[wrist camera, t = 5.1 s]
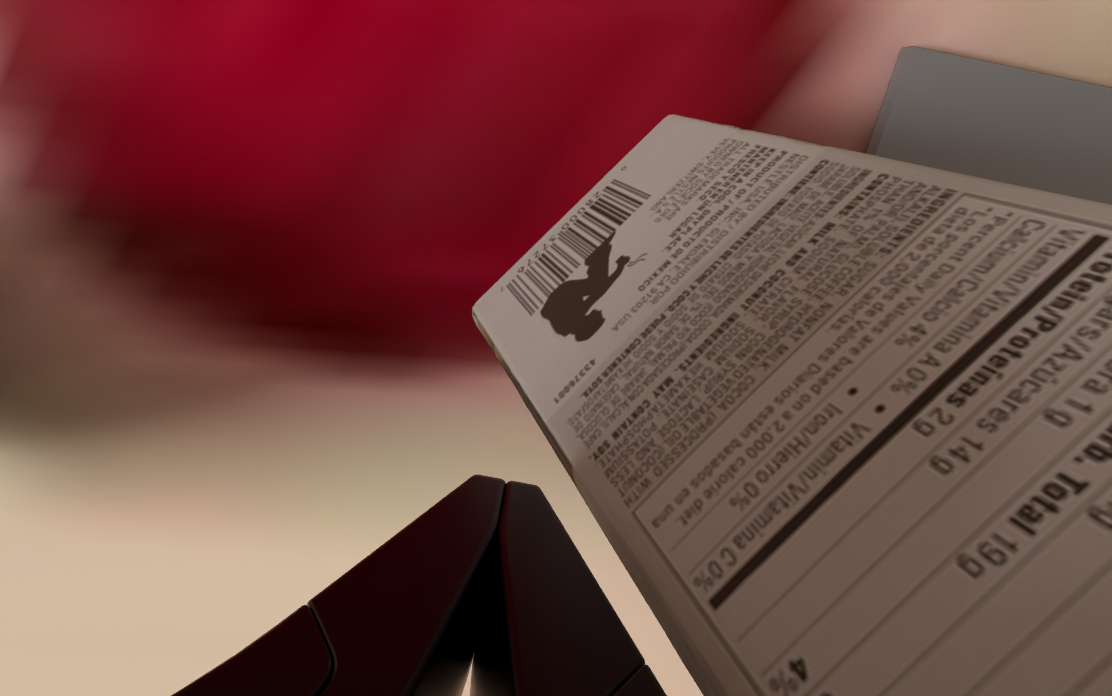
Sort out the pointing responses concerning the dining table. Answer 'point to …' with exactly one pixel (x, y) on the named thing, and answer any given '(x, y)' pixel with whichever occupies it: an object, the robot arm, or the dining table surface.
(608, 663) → the robot arm
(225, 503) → the dining table surface
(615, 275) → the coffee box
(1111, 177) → the mat
